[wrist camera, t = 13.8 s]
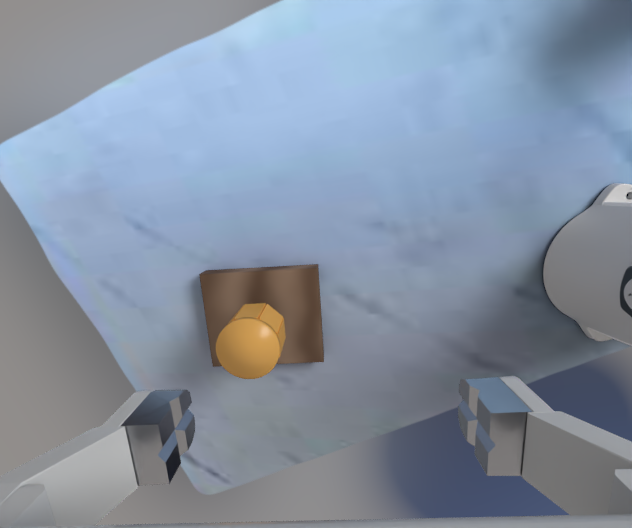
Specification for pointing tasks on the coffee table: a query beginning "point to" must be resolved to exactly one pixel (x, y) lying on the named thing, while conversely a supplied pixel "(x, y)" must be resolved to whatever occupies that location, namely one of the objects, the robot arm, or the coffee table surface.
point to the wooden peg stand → (275, 290)
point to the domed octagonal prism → (251, 341)
